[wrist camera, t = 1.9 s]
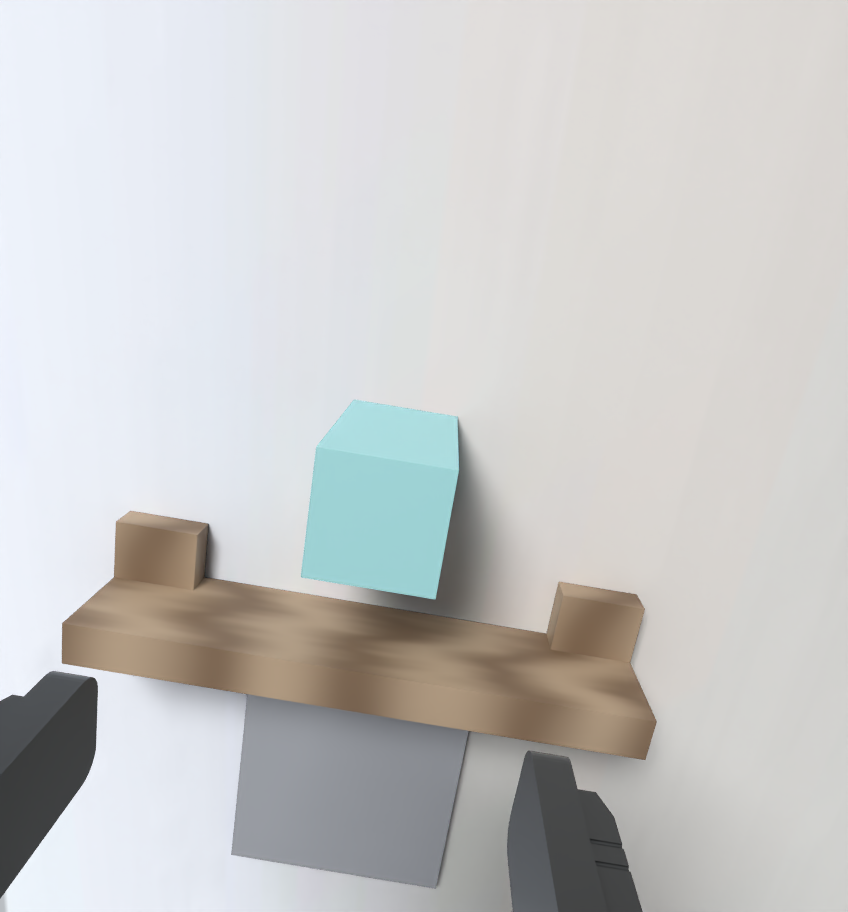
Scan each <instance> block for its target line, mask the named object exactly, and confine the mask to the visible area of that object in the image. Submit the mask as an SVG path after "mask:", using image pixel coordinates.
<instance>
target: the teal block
mask: <svg viewBox="0 0 848 912" xmlns="http://www.w3.org/2000/svg"><path fill="white" fill-rule="evenodd" d="M458 473H459V454H458V417H456V416H450V415H444V414H438V413H432V412H426V411H420V410H414V409H408V408H402V407H396V406H390V405H384V404H378V403H372V402H366V401H360V400H353V402H352V403H351V404H350V405H349V407H348V408H347V409H346V410H345V412H344V413H343V414H342V415H341V417H340V418H339V419H338V420H337V422H336V423H335V424H334V425H333V427H332V428H331V429H330V430H329V432H328V433H327V434H326V435H325V437H324V438H323V439H322V440H321V442H320V443H319V444H318V445H317V447H316V454H315V462H314V471H313V479H312V487H311V496H310V504H309V513H308V521H307V529H306V538H305V546H304V555H303V563H302V571H301V577H302V578H308V579H314V580H320V581H326V582H332V583H338V584H345V585H351V586H357V587H363V588H369V589H375V590H381V591H387V592H393V593H399V594H405V595H411V596H417V597H423V598H429V599H435V600H436V594H437V589H438V583H439V578H440V572H441V567H442V561H443V556H444V550H445V545H446V539H447V534H448V528H449V523H450V517H451V512H452V506H453V501H454V495H455V489H456V484H457V478H458Z"/></svg>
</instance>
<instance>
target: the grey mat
mask: <svg viewBox="0 0 848 912" xmlns="http://www.w3.org/2000/svg"><path fill="white" fill-rule="evenodd" d="M468 732H469V731H467V730H461V729H455V728H449V727H443V726H437V725H431V724H425V723H419V722H413V721H407V720H401V719H395V718H389V717H383V716H376V715H370V714H364V713H358V712H352V711H346V710H340V709H334V708H328V707H322V706H316V705H310V704H304V703H298V702H292V701H286V700H280V699H274V698H268V697H262V696H256V695H250V694H247V704H246V714H245V724H244V734H243V744H242V753H241V763H240V773H239V783H238V793H237V803H236V813H235V823H234V833H233V843H232V853H231V855H236V856H242V857H248V858H254V859H260V860H266V861H272V862H278V863H284V864H290V865H296V866H302V867H308V868H314V869H320V870H326V871H333V872H339V873H345V874H351V875H357V876H363V877H369V878H375V879H381V880H387V881H393V882H399V883H405V884H411V885H417V886H423V887H429V888H435V889H436V885H437V880H438V876H439V871H440V866H441V861H442V856H443V852H444V847H445V842H446V837H447V832H448V828H449V823H450V818H451V813H452V809H453V804H454V799H455V794H456V789H457V785H458V780H459V775H460V770H461V765H462V761H463V756H464V751H465V746H466V741H467V737H468Z"/></svg>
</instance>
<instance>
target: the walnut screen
mask: <svg viewBox="0 0 848 912" xmlns="http://www.w3.org/2000/svg"><path fill="white" fill-rule="evenodd" d="M207 536H208V524H207V523H201V522H194V521H188V520H182V519H176V518H170V517H164V516H158V515H152V514H146V513H140V512H134V511H130V512H128V513H127V514H126V515H124V516H123V517H122V518H120V519H119V520H117V521H116V536H115V565H114V578H113V579H112V580H110V581H109V582H108V583H107V584H106V585H105V586H104V587H103V588H101V589H100V590H99V591H98V592H97V593H96V594H95V595H94V596H92V597H91V598H90V599H89V600H88V601H87V602H86V603H85V604H83V605H82V606H81V607H80V608H79V609H78V610H77V611H76V612H74V613H73V614H72V615H71V616H70V617H69V618H68V619H67V620H65V621H64V622H63V623H62V663H63V664H69V665H75V666H81V667H87V668H93V669H99V670H105V671H111V672H117V673H123V674H129V675H135V676H141V677H147V678H153V679H159V680H165V681H171V682H177V683H183V684H189V685H195V686H201V687H207V688H213V689H219V690H226V691H232V692H238V693H244V694H250V695H256V696H262V697H268V698H274V699H280V700H286V701H292V702H298V703H304V704H310V705H316V706H322V707H328V708H334V709H340V710H346V711H352V712H358V713H364V714H370V715H376V716H383V717H389V718H395V719H401V720H407V721H413V722H419V723H425V724H431V725H437V726H443V727H449V728H455V729H461V730H467V731H473V732H479V733H485V734H491V735H497V736H503V737H509V738H515V739H521V740H527V741H533V742H540V743H546V744H552V745H558V746H564V747H570V748H576V749H582V750H588V751H594V752H600V753H606V754H612V755H618V756H624V757H630V758H636V759H642V760H645V759H646V756H647V752H648V749H649V746H650V742H651V739H652V736H653V732H654V729H655V726H656V722H657V721H656V719H655V717H654V715H653V712H652V710H651V708H650V706H649V704H648V701H647V699H646V697H645V695H644V693H643V690H642V688H641V686H640V684H639V682H638V679H637V677H636V675H635V673H634V671H633V668H632V666H631V664H630V661H631V657H632V654H633V650H634V646H635V643H636V639H637V636H638V632H639V628H640V625H641V621H642V617H643V614H644V610H645V608H644V607H643V605H642V603H641V601H640V600H639V598H638V596H637V595H636V594H630V593H624V592H618V591H611V590H605V589H599V588H593V587H587V586H581V585H575V584H569V583H563V582H559V583H558V587H557V591H556V596H555V600H554V604H553V608H552V613H551V617H550V621H549V625H548V630H547V634H545V633H539V632H533V631H527V630H521V629H515V628H509V627H502V626H496V625H490V624H484V623H478V622H472V621H466V620H460V619H454V618H448V617H442V616H436V615H430V614H424V613H418V612H412V611H406V610H400V609H394V608H388V607H382V606H376V605H370V604H364V603H357V602H351V601H345V600H339V599H333V598H327V597H321V596H315V595H309V594H303V593H297V592H291V591H285V590H279V589H273V588H267V587H261V586H255V585H249V584H243V583H237V582H231V581H225V580H219V579H212V578H206V577H204V576H205V562H206V549H207Z"/></svg>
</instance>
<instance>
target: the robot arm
mask: <svg viewBox="0 0 848 912" xmlns="http://www.w3.org/2000/svg"><path fill="white" fill-rule="evenodd" d="M97 697H98V685H97V681H96V679H95V678H93V677H87V676H81V675H75V674H69V673H63V672H57V671H52V672H49V673H48V674H47V675H45V676H44V677H43V678H42V679H41V680H40V681H39V682H38V683H37V684H36V685H35V686H34V687H33V688H32V689H31V690H30V691H29V692H28V693H27V694H26V695H25V696H24V697H22V696H16V695H11V696H9V697H7V698H5V699H4V700H2V701H0V898H1V897H2V895H3V894H4V893H5V891H6V890H7V889H8V887H9V886H10V884H11V883H12V882H13V880H14V879H15V877H16V876H17V875H18V873H19V872H20V871H21V869H22V868H23V866H24V865H25V864H26V862H27V861H28V859H29V858H30V857H31V855H32V854H33V852H34V851H35V850H36V848H37V847H38V846H39V844H40V843H41V841H42V840H43V839H44V837H45V836H46V834H47V833H48V832H49V830H50V829H51V828H52V826H53V825H54V823H55V822H56V821H57V819H58V818H59V816H60V815H61V814H62V812H63V811H64V810H65V808H66V807H67V805H68V804H69V803H70V801H71V800H72V798H73V797H74V796H75V794H76V793H77V792H78V790H79V789H80V787H81V786H82V784H83V783H84V781H85V779H86V777H87V775H88V773H89V771H90V768H91V766H92V763H93V759H94V755H95V750H96V728H97ZM507 855H508V866H509V876H510V887H511V897H512V907H513V912H642V909H641V905H640V902H639V899H638V895H637V892H636V889H635V885H634V882H633V879H632V875H631V872H629V870H628V868H629V865H628V862H627V859H626V855H625V852H624V849H622V842H621V839H620V835H619V832H618V829H617V825H616V822H615V819H614V816H613V815H612V814H611V812H610V811H609V810H608V808H607V807H606V806H605V804H604V803H603V801H602V800H601V799H600V797H599V796H598V795H597V793H596V792H591V791H585V790H578V789H577V785H576V781H575V777H574V773H573V769H572V765H571V762H570V759H569V758H568V757H564V756H558V755H552V754H546V753H540V752H534V751H528V752H527V753H526V755H525V758H524V762H523V766H522V770H521V774H520V778H519V782H518V787H517V791H516V795H515V799H514V803H513V807H512V811H511V816H510V821H509V828H508V840H507Z"/></svg>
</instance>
